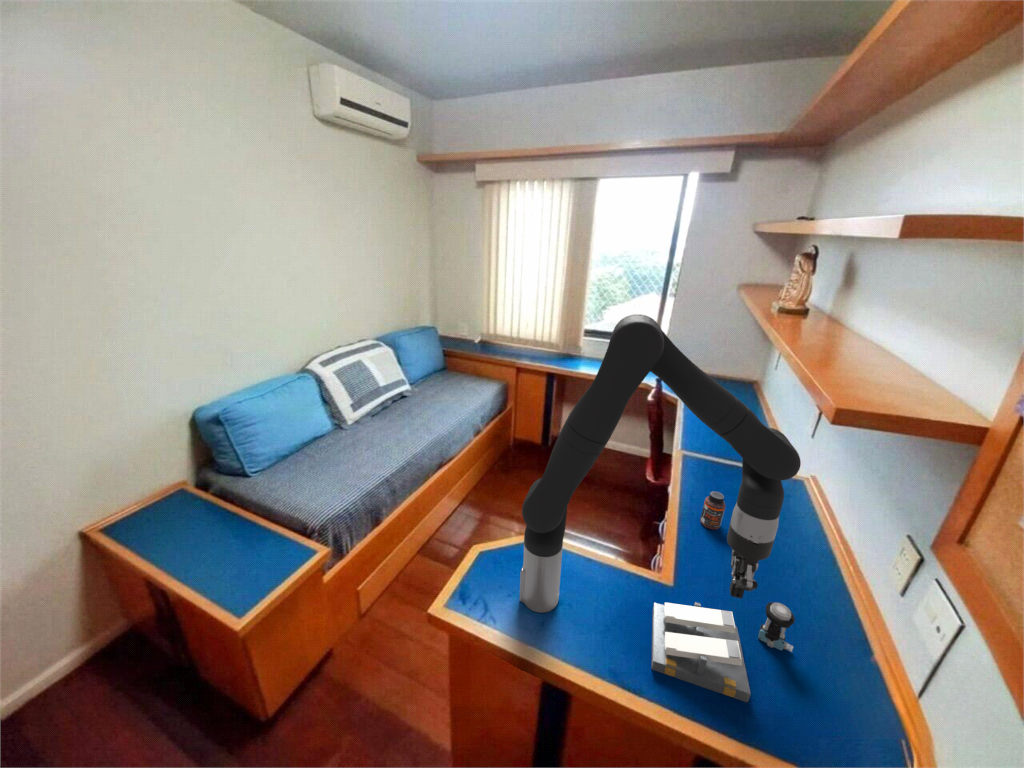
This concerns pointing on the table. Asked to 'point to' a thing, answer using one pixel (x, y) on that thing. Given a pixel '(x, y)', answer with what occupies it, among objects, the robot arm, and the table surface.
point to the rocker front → (703, 648)
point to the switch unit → (698, 670)
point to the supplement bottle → (713, 510)
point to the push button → (776, 626)
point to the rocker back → (699, 617)
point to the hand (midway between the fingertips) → (735, 594)
